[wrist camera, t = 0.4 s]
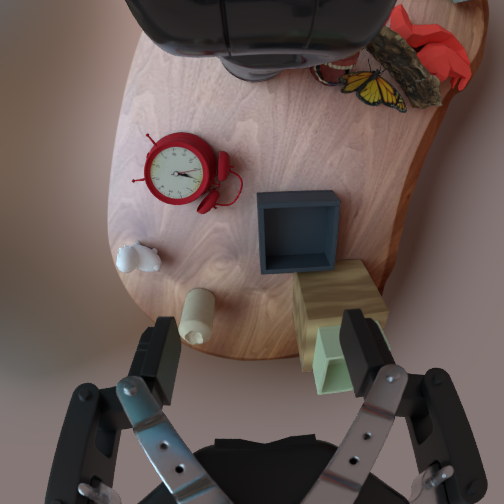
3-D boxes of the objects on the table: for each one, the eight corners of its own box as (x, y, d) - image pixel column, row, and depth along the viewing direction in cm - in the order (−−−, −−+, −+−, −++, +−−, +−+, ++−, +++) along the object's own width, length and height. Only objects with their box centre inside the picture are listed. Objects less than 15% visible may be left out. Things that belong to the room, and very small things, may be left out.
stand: (294, 262, 50) (308, 320, 38) (360, 258, 50) (389, 311, 38) (292, 314, 56) (302, 372, 44) (351, 309, 56) (371, 363, 44)
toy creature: (125, 231, 46) (112, 250, 41) (168, 248, 48) (159, 269, 43) (120, 252, 48) (107, 273, 43) (161, 269, 50) (152, 291, 45)
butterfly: (417, 72, 30) (428, 97, 29) (380, 101, 38) (387, 126, 37) (351, 32, 26) (360, 55, 25) (316, 72, 34) (320, 97, 33)
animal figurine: (392, -3, 26) (404, -9, 22) (465, 51, 29) (481, 53, 24) (365, 52, 33) (375, 51, 29) (440, 102, 35) (456, 108, 31)
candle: (220, 295, 53) (216, 335, 45) (208, 314, 56) (202, 354, 47) (193, 283, 52) (184, 322, 43) (181, 303, 54) (172, 342, 46)
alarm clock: (145, 123, 34) (247, 166, 34) (166, 121, 40) (256, 159, 40) (125, 191, 39) (216, 237, 39) (146, 182, 44) (228, 221, 45)
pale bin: (317, 326, 39) (325, 358, 34) (378, 320, 39) (390, 348, 34) (312, 366, 43) (317, 395, 38) (365, 359, 43) (374, 386, 38)
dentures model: (367, 67, 27) (348, 92, 35) (362, 40, 27) (345, 67, 35) (321, 61, 27) (309, 89, 35) (317, 34, 27) (307, 64, 35)
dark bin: (256, 192, 43) (257, 203, 40) (332, 190, 43) (340, 200, 39) (259, 258, 49) (261, 274, 45) (327, 254, 49) (334, 270, 45)
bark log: (335, 25, 31) (343, 18, 25) (357, 7, 28) (368, -2, 23) (414, 113, 36) (433, 122, 31) (434, 96, 34) (455, 103, 28)
